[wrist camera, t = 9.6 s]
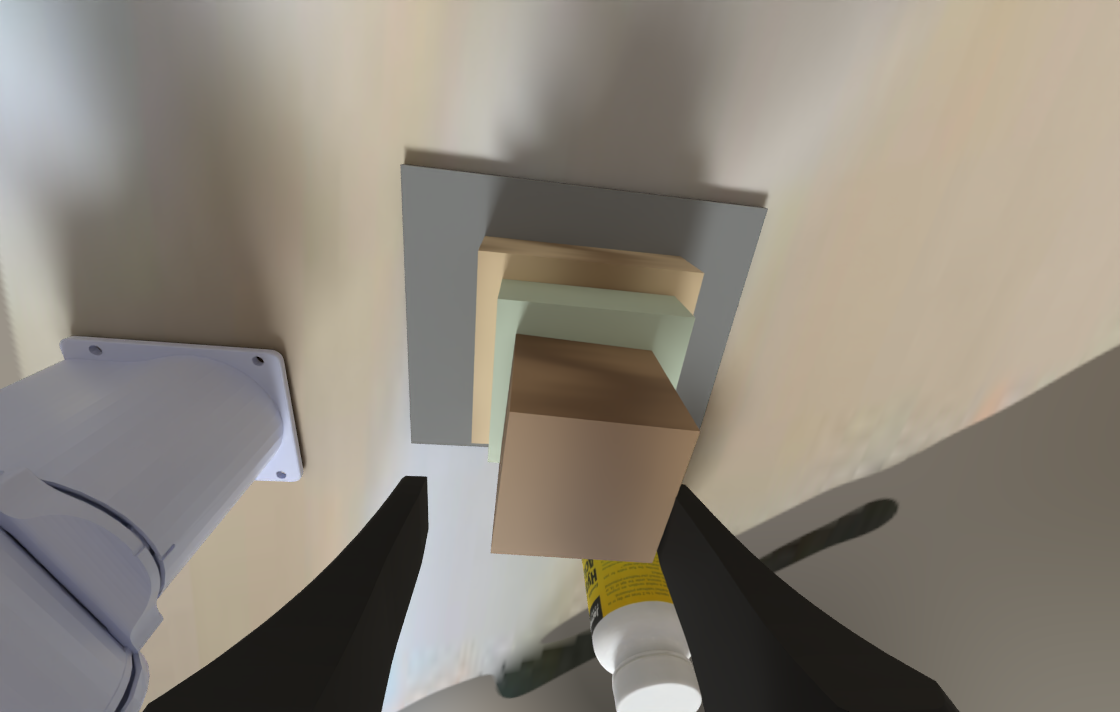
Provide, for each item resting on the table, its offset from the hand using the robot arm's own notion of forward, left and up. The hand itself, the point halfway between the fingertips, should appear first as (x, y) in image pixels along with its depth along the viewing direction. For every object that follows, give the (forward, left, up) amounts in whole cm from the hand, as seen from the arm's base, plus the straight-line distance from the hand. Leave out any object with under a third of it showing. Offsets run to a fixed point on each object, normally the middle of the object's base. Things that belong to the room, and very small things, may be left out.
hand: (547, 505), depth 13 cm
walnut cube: (+1, +1, -4) cm, 4 cm away
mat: (+2, +2, -10) cm, 11 cm away
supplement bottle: (+7, -12, -11) cm, 18 cm away
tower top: (+2, +2, -7) cm, 7 cm away
